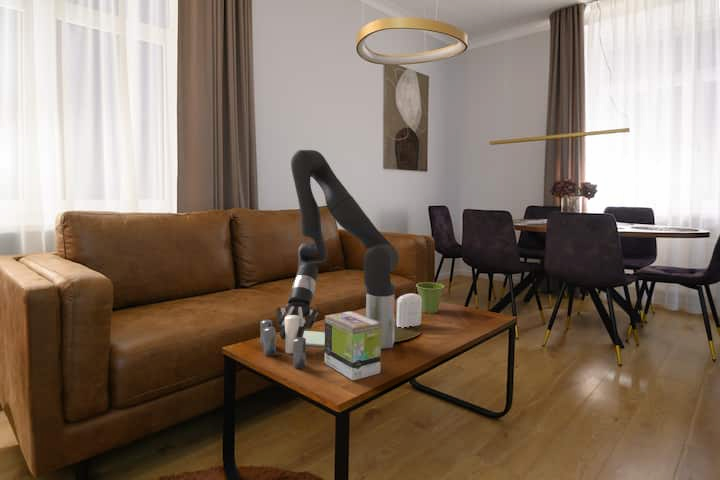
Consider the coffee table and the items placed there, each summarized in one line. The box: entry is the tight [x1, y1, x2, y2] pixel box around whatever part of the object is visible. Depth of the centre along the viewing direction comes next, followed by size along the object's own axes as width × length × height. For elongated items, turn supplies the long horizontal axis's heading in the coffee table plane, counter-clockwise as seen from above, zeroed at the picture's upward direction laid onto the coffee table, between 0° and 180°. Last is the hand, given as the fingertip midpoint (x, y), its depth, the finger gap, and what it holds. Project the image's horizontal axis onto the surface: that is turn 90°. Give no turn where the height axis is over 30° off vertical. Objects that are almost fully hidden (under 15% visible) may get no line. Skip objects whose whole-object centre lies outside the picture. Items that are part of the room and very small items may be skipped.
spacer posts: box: [260, 319, 307, 370], centre depth 133 cm, size 28×18×8 cm, turn 79°
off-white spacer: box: [284, 315, 300, 355], centre depth 137 cm, size 4×4×11 cm
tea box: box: [324, 310, 382, 381], centre depth 124 cm, size 15×10×15 cm, turn 35°
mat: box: [303, 330, 325, 347], centre depth 149 cm, size 12×12×1 cm
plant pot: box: [415, 282, 445, 314], centre depth 184 cm, size 12×12×11 cm
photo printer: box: [395, 293, 422, 329], centre depth 164 cm, size 10×4×12 cm, turn 123°
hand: (290, 338), depth 135 cm, fingers closed on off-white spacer, 4 cm apart
